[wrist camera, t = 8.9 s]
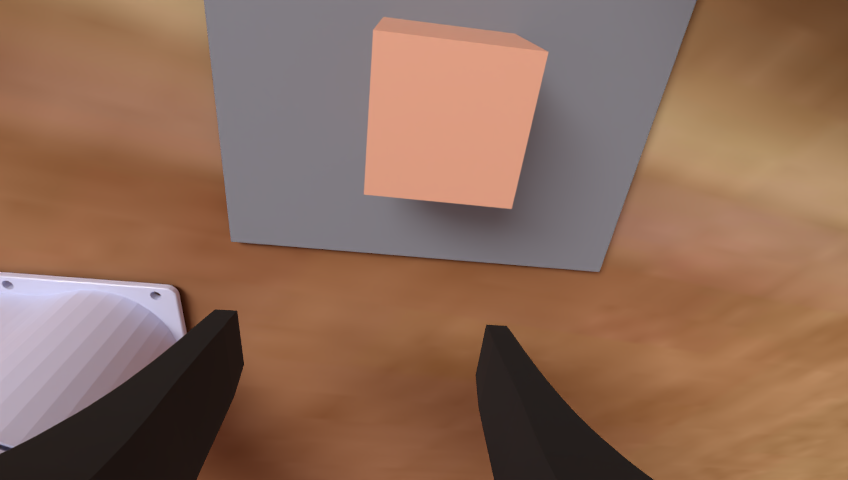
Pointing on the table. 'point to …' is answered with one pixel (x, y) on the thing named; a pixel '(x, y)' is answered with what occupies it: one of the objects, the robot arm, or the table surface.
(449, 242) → the gray placemat
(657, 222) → the table surface
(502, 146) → the terracotta cube
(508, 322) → the table surface
